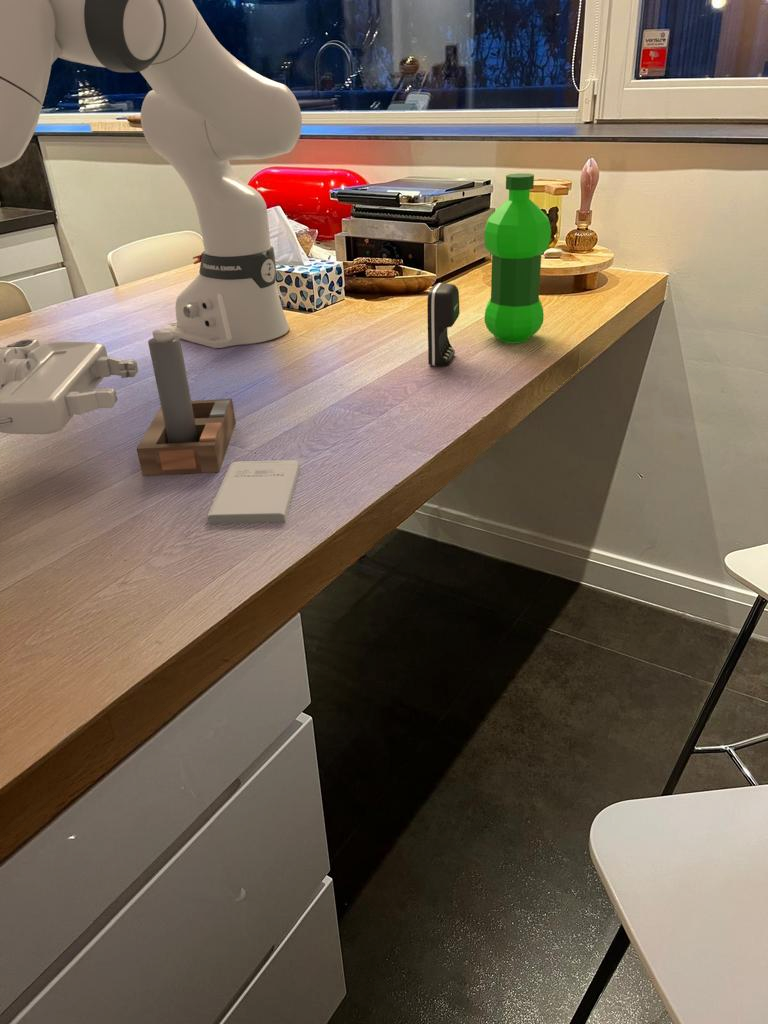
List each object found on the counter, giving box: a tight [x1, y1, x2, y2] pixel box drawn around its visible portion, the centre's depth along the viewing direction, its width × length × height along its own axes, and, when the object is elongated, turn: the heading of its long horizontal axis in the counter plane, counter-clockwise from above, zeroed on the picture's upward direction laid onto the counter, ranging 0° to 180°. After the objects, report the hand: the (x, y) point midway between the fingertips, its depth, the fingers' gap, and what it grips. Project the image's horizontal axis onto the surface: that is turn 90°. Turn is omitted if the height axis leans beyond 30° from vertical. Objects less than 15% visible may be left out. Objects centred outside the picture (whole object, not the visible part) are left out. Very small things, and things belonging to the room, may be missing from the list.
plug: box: [147, 327, 199, 444], centre depth 91 cm, size 4×4×16 cm
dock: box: [136, 398, 237, 477], centre depth 97 cm, size 14×9×4 cm, turn 1°
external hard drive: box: [206, 459, 301, 524], centre depth 87 cm, size 2×8×12 cm
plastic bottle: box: [483, 172, 552, 344], centre depth 123 cm, size 10×10×25 cm
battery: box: [427, 282, 460, 367], centre depth 118 cm, size 7×4×11 cm, turn 165°
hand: (126, 382), depth 89 cm, fingers open, 8 cm apart
